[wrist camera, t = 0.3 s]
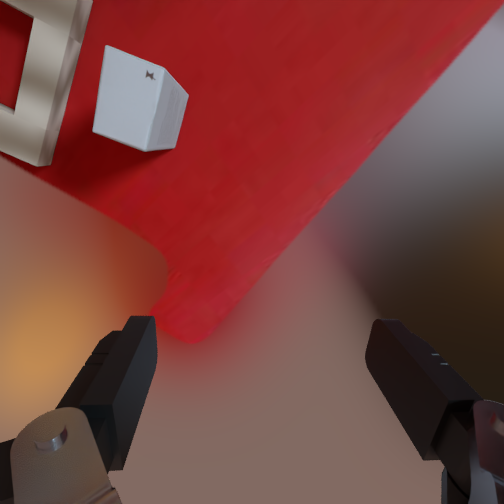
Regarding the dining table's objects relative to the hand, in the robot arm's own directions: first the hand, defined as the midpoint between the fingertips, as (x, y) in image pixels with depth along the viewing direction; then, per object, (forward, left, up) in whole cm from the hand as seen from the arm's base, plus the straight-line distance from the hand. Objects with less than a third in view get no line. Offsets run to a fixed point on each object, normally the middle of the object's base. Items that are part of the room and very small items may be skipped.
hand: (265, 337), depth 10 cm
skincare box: (-5, -12, -27) cm, 30 cm away
